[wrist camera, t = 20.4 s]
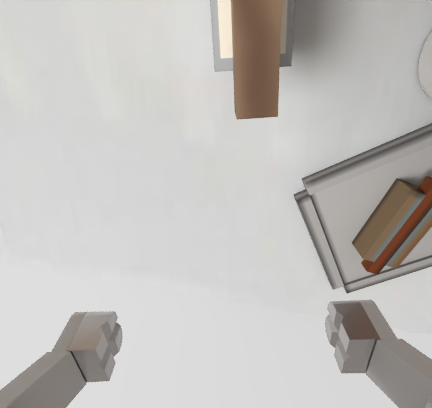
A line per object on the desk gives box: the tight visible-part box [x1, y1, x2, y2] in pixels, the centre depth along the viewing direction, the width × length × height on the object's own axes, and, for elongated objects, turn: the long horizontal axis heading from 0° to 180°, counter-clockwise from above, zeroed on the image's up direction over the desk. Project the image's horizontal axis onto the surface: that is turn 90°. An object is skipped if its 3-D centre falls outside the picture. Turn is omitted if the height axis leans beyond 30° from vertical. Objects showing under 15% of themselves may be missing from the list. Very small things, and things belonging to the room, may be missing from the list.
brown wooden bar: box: [231, 0, 282, 119], centre depth 24 cm, size 6×18×6 cm, turn 4°
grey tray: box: [294, 124, 432, 293], centre depth 54 cm, size 30×30×8 cm
